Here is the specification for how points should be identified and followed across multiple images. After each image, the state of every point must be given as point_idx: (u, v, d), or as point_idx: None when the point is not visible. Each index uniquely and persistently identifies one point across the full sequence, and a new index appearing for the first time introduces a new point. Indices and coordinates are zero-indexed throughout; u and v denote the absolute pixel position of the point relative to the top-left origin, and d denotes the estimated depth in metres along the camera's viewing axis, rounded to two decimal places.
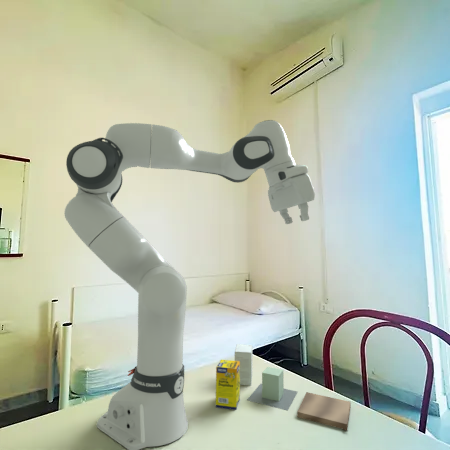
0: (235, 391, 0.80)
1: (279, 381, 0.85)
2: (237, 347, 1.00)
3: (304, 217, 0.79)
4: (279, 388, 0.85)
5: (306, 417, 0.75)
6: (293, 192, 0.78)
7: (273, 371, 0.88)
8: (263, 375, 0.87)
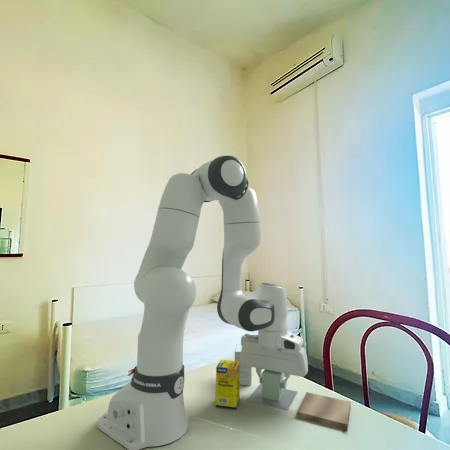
0: (235, 391, 0.80)
1: (279, 381, 0.85)
2: (237, 347, 1.00)
3: (285, 385, 0.86)
4: (279, 388, 0.85)
5: (306, 417, 0.75)
6: (292, 362, 0.84)
7: (273, 371, 0.88)
8: (263, 375, 0.87)
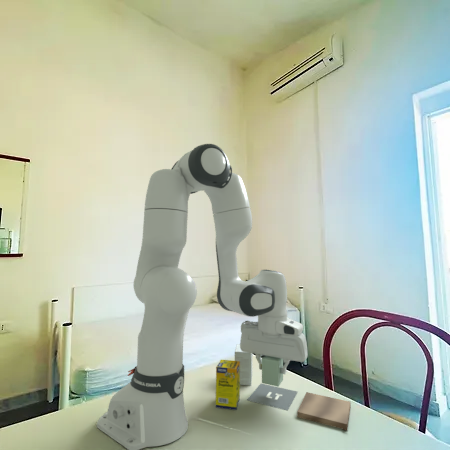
0: (235, 391, 0.80)
1: (279, 367, 0.86)
2: (237, 347, 1.00)
3: (285, 371, 0.86)
4: (279, 373, 0.86)
5: (306, 417, 0.75)
6: (291, 347, 0.84)
7: (273, 357, 0.88)
8: (263, 361, 0.87)
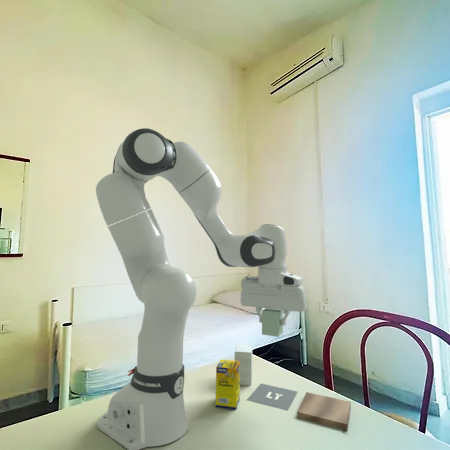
0: (235, 391, 0.80)
1: (278, 318, 0.87)
2: (237, 347, 1.00)
3: (284, 322, 0.87)
4: (278, 324, 0.87)
5: (306, 417, 0.75)
6: (291, 298, 0.86)
7: (273, 310, 0.90)
8: (263, 313, 0.88)
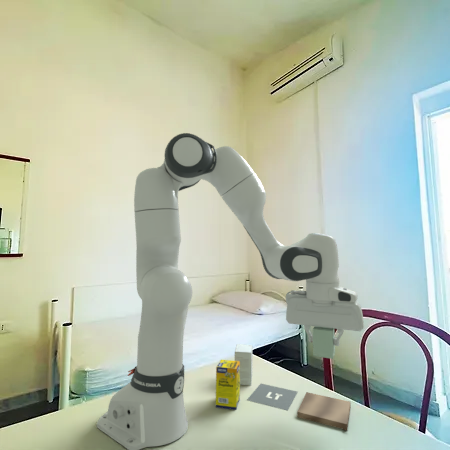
0: (235, 391, 0.80)
1: (332, 338, 0.78)
2: (237, 347, 1.00)
3: (339, 342, 0.79)
4: (332, 345, 0.78)
5: (306, 417, 0.75)
6: (347, 316, 0.77)
7: (324, 328, 0.81)
8: (314, 332, 0.80)
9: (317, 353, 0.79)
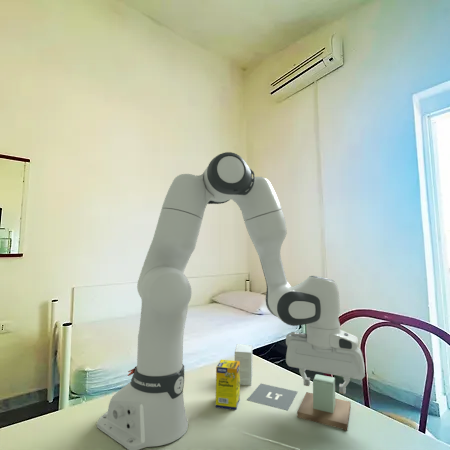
0: (235, 391, 0.80)
1: (333, 391, 0.77)
2: (237, 347, 1.00)
3: (345, 390, 0.77)
4: (333, 398, 0.77)
5: (306, 417, 0.75)
6: (347, 363, 0.76)
7: (324, 379, 0.80)
8: (314, 384, 0.79)
9: (317, 406, 0.78)
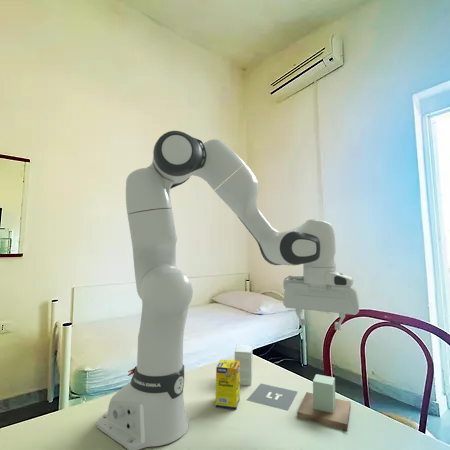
0: (235, 391, 0.80)
1: (333, 391, 0.77)
2: (237, 347, 1.00)
3: (340, 326, 0.80)
4: (333, 398, 0.77)
5: (306, 417, 0.75)
6: (342, 300, 0.79)
7: (324, 379, 0.80)
8: (314, 384, 0.79)
9: (317, 406, 0.78)
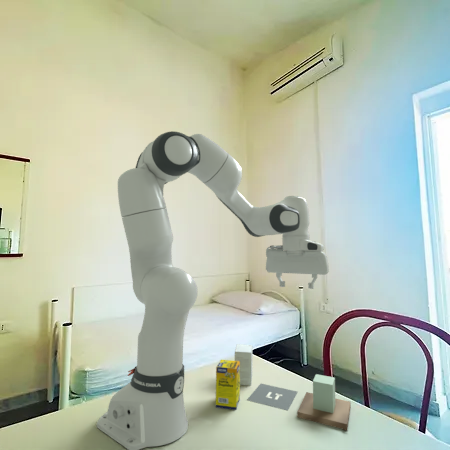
0: (235, 391, 0.80)
1: (333, 391, 0.77)
2: (237, 347, 1.00)
3: (313, 285, 0.94)
4: (333, 398, 0.77)
5: (306, 417, 0.75)
6: (314, 262, 0.93)
7: (324, 379, 0.80)
8: (314, 384, 0.79)
9: (317, 406, 0.78)
